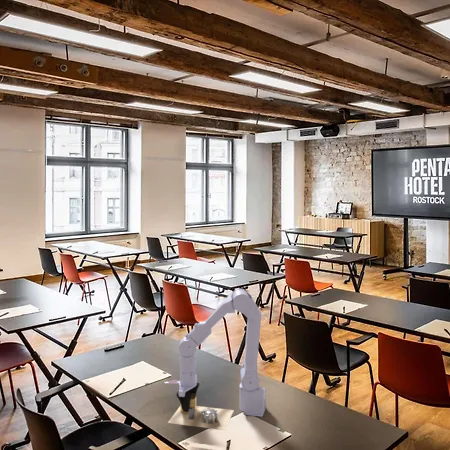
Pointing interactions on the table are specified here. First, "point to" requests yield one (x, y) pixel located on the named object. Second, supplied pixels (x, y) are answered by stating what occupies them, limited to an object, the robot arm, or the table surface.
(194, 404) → the octagonal wooden pipe
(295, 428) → the table surface
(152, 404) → the table surface
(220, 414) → the plate
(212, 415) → the sun gear
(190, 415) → the pin
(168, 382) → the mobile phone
